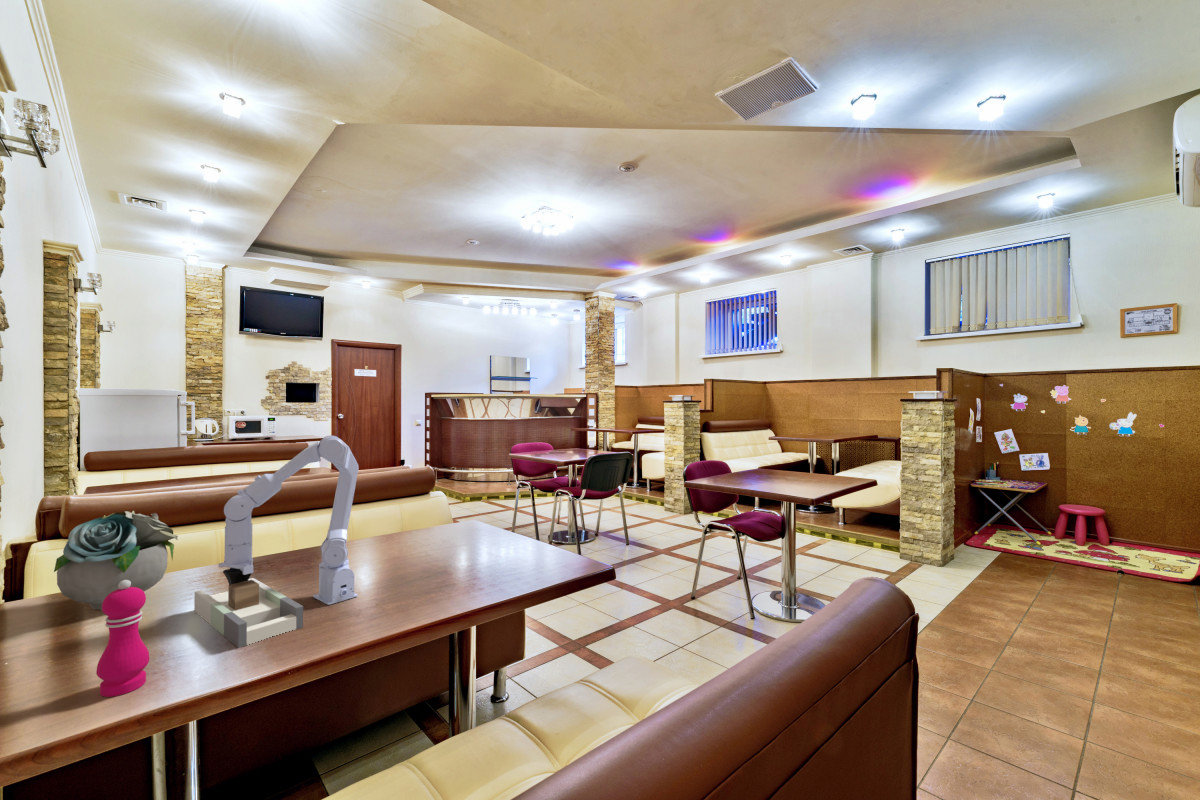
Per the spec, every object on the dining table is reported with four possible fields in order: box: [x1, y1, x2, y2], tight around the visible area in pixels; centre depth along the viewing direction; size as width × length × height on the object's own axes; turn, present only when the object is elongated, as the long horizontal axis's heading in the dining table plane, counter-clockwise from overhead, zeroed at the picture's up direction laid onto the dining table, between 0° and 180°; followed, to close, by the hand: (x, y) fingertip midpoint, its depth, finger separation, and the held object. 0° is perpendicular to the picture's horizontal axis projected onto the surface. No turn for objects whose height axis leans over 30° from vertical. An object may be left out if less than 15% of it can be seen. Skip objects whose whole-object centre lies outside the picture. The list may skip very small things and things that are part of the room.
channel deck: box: [193, 577, 304, 649], centre depth 124 cm, size 32×13×5 cm, turn 52°
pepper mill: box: [95, 580, 150, 698], centre depth 94 cm, size 7×7×20 cm
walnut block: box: [227, 580, 259, 611], centre depth 125 cm, size 5×5×5 cm
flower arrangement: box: [53, 510, 179, 611], centre depth 133 cm, size 25×25×24 cm
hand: (238, 596), depth 128 cm, fingers closed
